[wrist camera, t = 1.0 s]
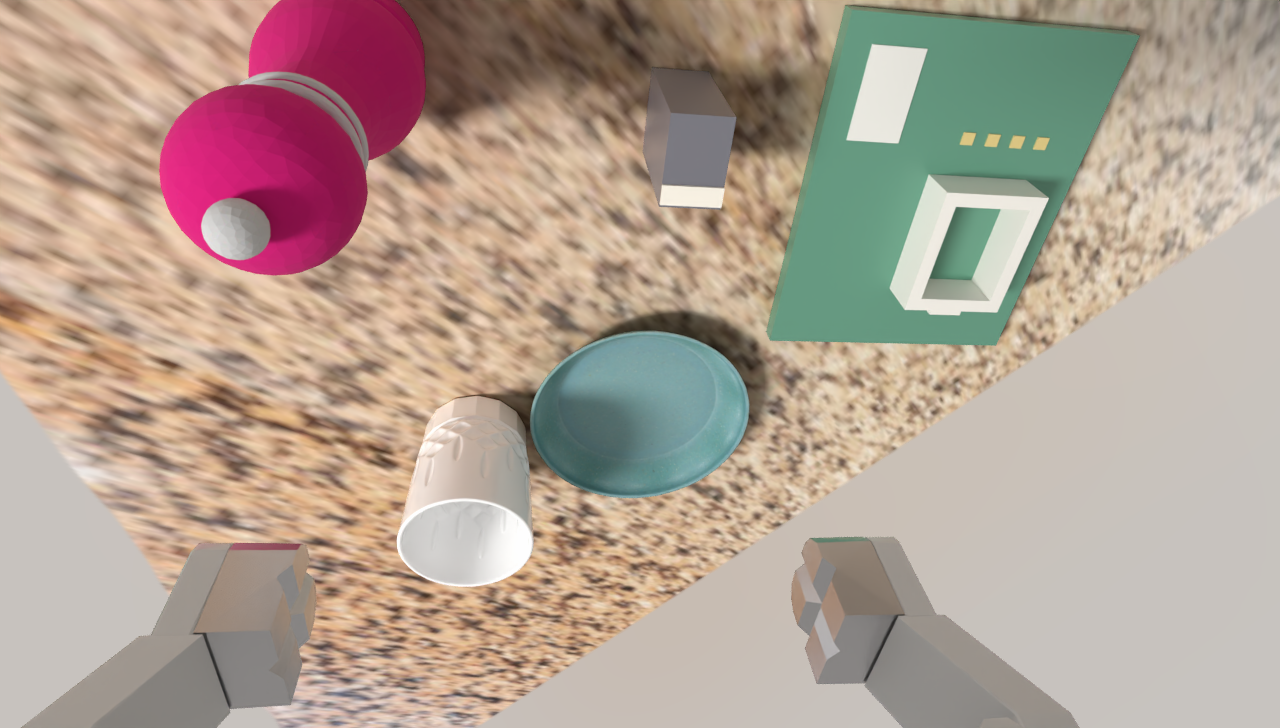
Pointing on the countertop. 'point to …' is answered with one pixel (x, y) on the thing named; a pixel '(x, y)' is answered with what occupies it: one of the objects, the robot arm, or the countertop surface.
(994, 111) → the board
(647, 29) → the countertop surface
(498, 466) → the white cup
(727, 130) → the plug
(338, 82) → the pepper mill
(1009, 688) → the robot arm
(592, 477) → the saucer
